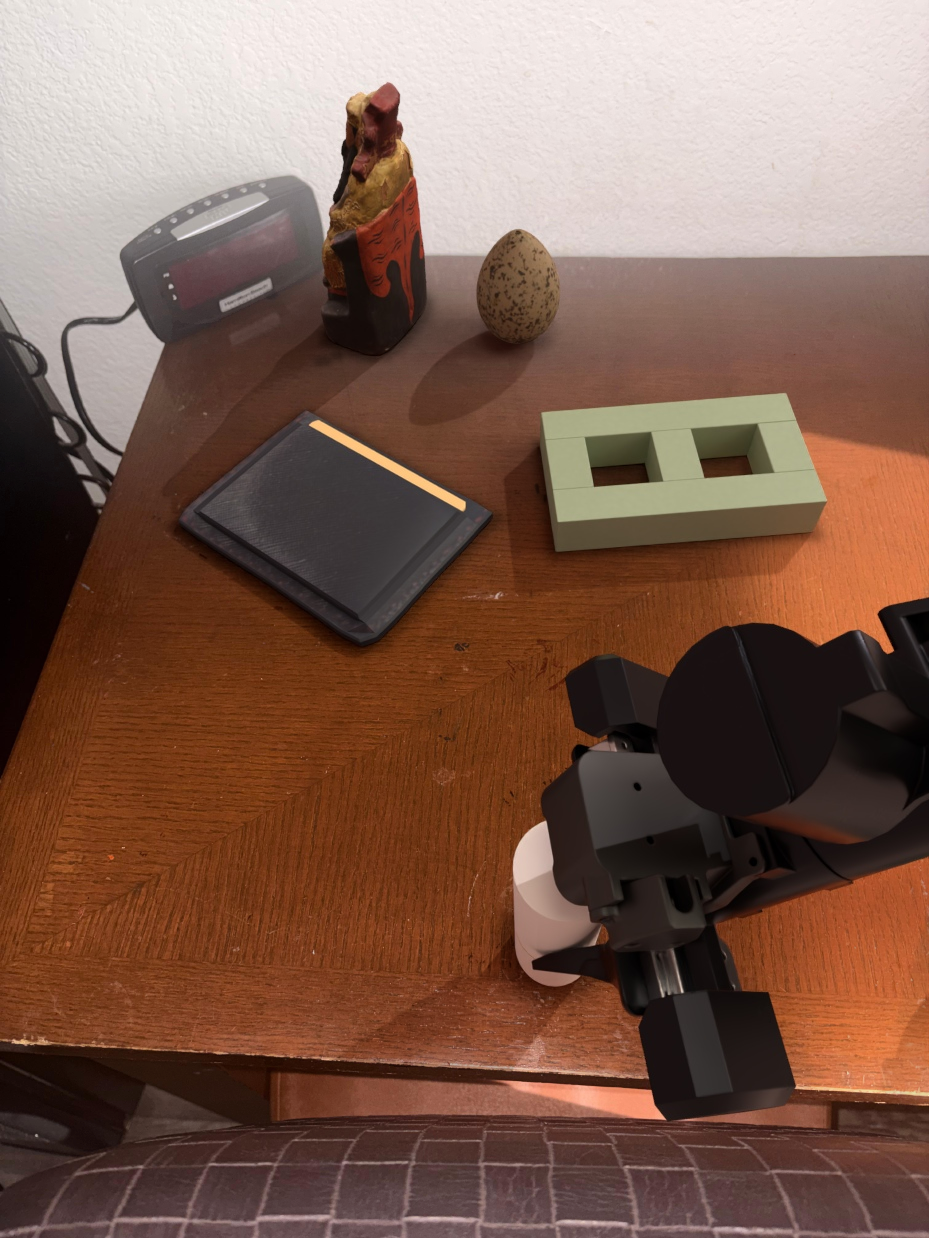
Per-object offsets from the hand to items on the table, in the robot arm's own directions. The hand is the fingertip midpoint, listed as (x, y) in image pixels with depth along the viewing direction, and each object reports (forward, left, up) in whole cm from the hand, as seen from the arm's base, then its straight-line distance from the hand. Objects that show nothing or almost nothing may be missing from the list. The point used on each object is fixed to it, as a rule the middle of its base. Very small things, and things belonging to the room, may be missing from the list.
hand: (529, 915), depth 41 cm
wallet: (+12, -32, -8) cm, 35 cm away
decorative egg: (-4, -52, -8) cm, 53 cm away
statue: (+9, -55, -8) cm, 56 cm away
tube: (-1, 0, -8) cm, 8 cm away
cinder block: (-14, -33, -8) cm, 37 cm away
